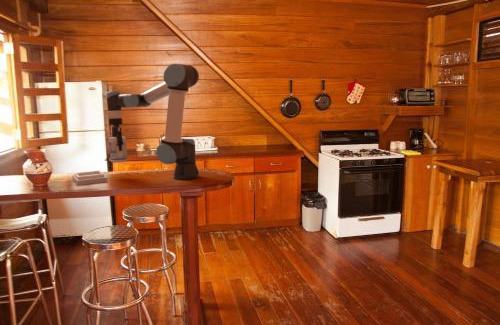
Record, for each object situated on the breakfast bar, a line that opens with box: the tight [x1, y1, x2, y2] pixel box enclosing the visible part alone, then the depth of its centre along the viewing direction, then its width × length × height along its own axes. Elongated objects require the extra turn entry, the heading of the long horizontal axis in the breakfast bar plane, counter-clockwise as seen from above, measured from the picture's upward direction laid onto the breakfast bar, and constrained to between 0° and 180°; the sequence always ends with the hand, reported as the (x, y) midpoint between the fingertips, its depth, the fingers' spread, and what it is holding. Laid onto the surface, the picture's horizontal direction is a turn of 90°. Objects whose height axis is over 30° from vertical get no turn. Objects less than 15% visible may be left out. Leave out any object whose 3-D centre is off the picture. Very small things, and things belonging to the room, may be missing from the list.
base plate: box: [71, 170, 108, 186], centre depth 227 cm, size 20×16×4 cm
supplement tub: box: [108, 136, 128, 163], centre depth 233 cm, size 10×10×15 cm
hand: (118, 155), depth 233 cm, fingers closed on supplement tub, 9 cm apart
